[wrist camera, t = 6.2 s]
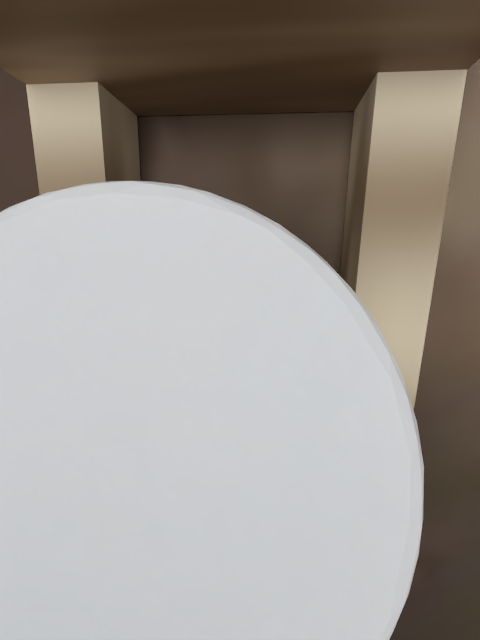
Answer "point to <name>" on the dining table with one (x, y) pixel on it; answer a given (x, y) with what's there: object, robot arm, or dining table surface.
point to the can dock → (267, 108)
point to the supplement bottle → (194, 428)
